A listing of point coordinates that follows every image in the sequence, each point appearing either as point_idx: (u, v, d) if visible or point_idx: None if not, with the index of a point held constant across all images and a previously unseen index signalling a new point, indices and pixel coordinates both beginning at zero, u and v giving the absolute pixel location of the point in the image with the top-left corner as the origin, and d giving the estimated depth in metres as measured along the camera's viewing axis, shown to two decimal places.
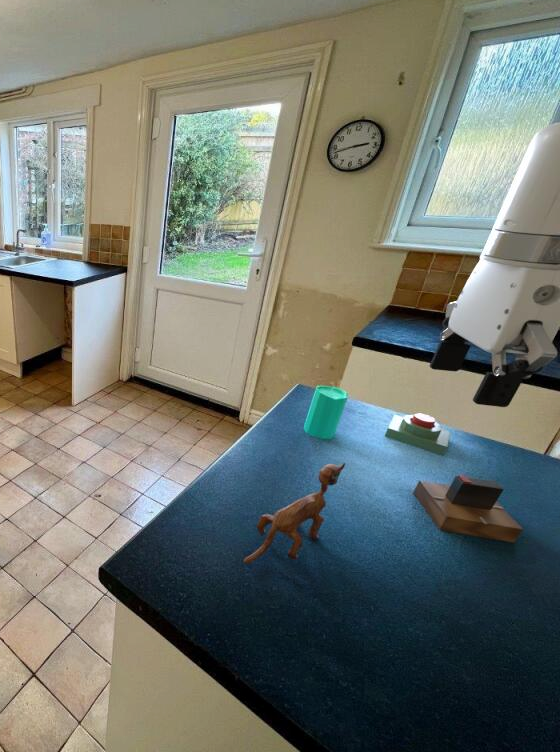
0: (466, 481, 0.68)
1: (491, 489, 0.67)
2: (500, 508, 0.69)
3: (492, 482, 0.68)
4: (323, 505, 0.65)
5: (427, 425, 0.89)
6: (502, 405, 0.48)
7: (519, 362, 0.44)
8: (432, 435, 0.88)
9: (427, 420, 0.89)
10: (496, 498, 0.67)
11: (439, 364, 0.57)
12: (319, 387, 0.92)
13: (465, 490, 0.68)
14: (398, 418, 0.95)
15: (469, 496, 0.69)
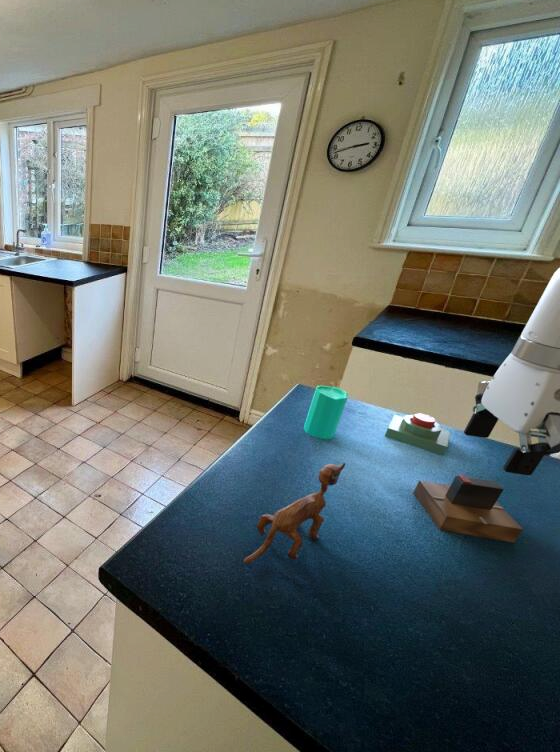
0: (466, 481, 0.68)
1: (491, 489, 0.67)
2: (500, 508, 0.69)
3: (492, 482, 0.68)
4: (323, 505, 0.65)
5: (427, 425, 0.89)
6: (527, 473, 0.61)
7: (542, 444, 0.57)
8: (432, 435, 0.88)
9: (427, 420, 0.89)
10: (496, 498, 0.67)
11: (472, 431, 0.69)
12: (319, 387, 0.92)
13: (465, 490, 0.68)
14: (398, 418, 0.95)
15: (469, 496, 0.69)
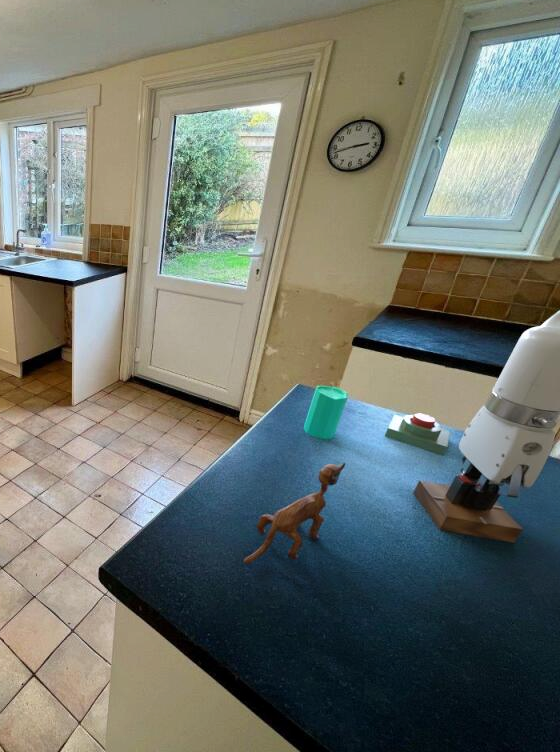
0: (466, 481, 0.68)
1: None
2: (500, 508, 0.69)
3: (492, 482, 0.68)
4: (323, 505, 0.65)
5: (427, 425, 0.89)
6: (482, 509, 0.68)
7: (492, 486, 0.64)
8: (432, 435, 0.88)
9: (427, 420, 0.89)
10: (496, 498, 0.67)
11: None
12: (319, 387, 0.92)
13: (465, 490, 0.68)
14: (398, 418, 0.95)
15: None
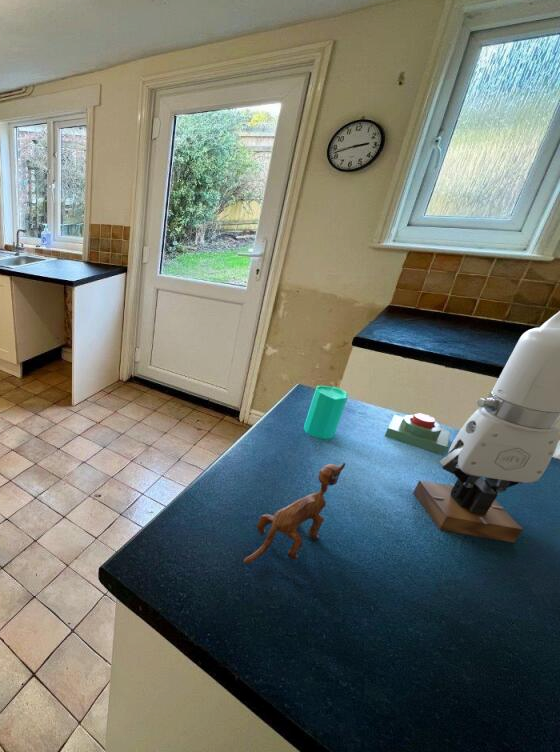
0: None
1: (475, 488, 0.67)
2: (500, 508, 0.69)
3: (490, 490, 0.66)
4: (323, 505, 0.65)
5: (427, 425, 0.89)
6: (459, 504, 0.69)
7: None
8: (432, 435, 0.88)
9: (427, 420, 0.89)
10: (476, 500, 0.67)
11: None
12: (319, 387, 0.92)
13: None
14: (398, 418, 0.95)
15: None
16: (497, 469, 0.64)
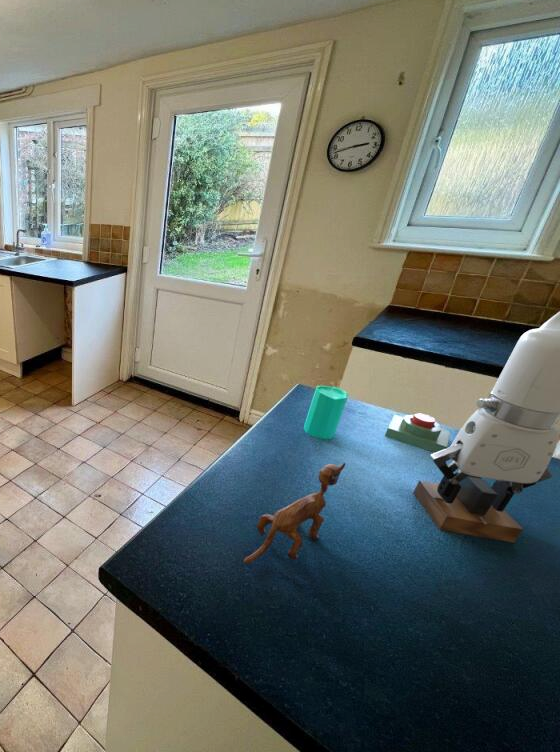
0: None
1: (475, 488, 0.67)
2: None
3: (490, 490, 0.66)
4: (323, 505, 0.65)
5: (427, 425, 0.89)
6: (445, 500, 0.70)
7: None
8: (432, 435, 0.88)
9: (427, 420, 0.89)
10: (476, 500, 0.67)
11: None
12: (319, 387, 0.92)
13: None
14: (398, 418, 0.95)
15: (462, 488, 0.70)
16: (496, 470, 0.64)
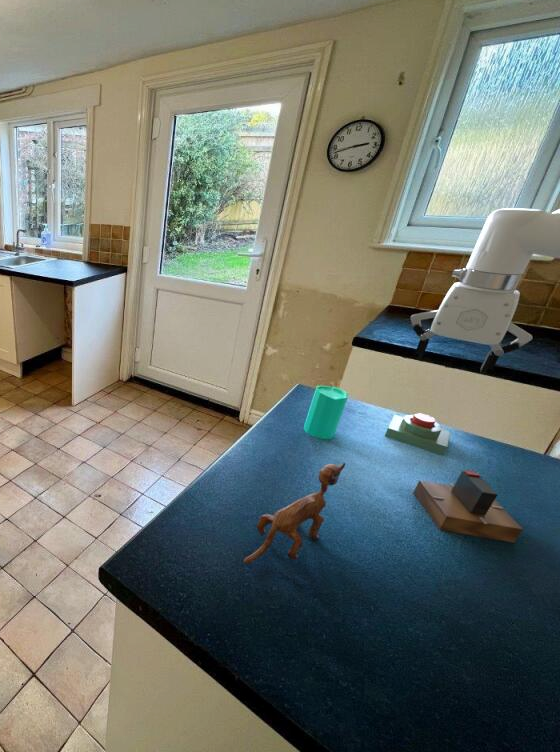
0: (466, 472, 0.70)
1: (475, 488, 0.67)
2: (500, 508, 0.69)
3: (490, 490, 0.66)
4: (323, 505, 0.65)
5: (427, 425, 0.89)
6: (417, 357, 0.86)
7: None
8: (432, 435, 0.88)
9: (427, 420, 0.89)
10: (476, 500, 0.67)
11: (482, 365, 0.81)
12: (319, 387, 0.92)
13: (461, 480, 0.71)
14: (398, 418, 0.95)
15: (462, 488, 0.70)
16: (459, 329, 0.79)
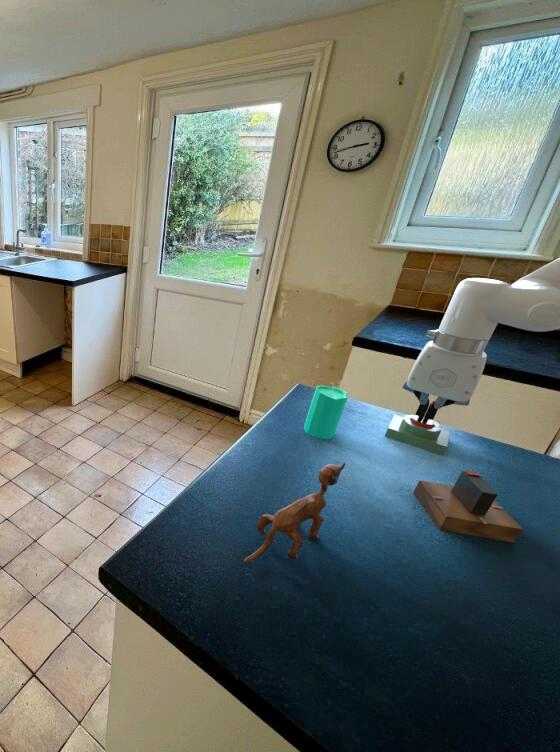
0: (466, 472, 0.70)
1: (475, 488, 0.67)
2: (500, 508, 0.69)
3: (490, 490, 0.66)
4: (323, 505, 0.65)
5: None
6: None
7: None
8: (432, 435, 0.88)
9: None
10: (476, 500, 0.67)
11: (425, 415, 0.90)
12: (319, 387, 0.92)
13: (461, 480, 0.71)
14: (398, 418, 0.95)
15: (462, 488, 0.70)
16: (432, 385, 0.85)
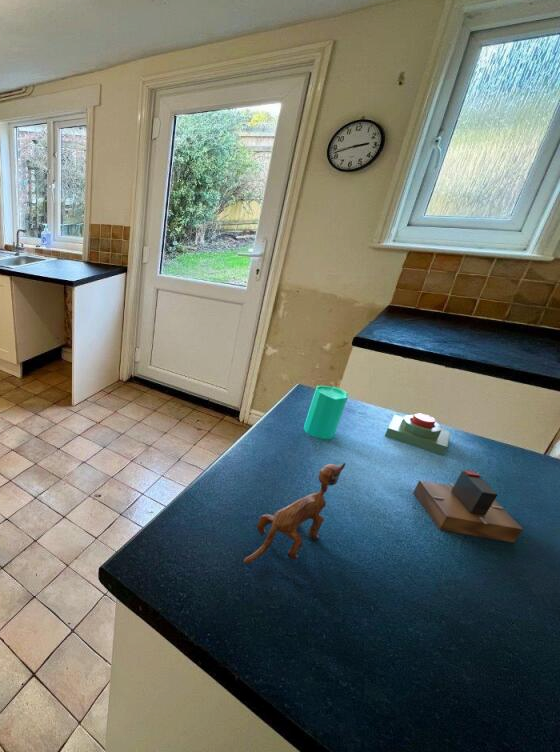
0: (466, 472, 0.70)
1: (475, 488, 0.67)
2: (500, 508, 0.69)
3: (490, 490, 0.66)
4: (323, 505, 0.65)
5: (427, 425, 0.89)
6: None
7: None
8: (432, 435, 0.88)
9: (427, 420, 0.89)
10: (476, 500, 0.67)
11: None
12: (319, 387, 0.92)
13: (461, 480, 0.71)
14: (398, 418, 0.95)
15: (462, 488, 0.70)
16: None
